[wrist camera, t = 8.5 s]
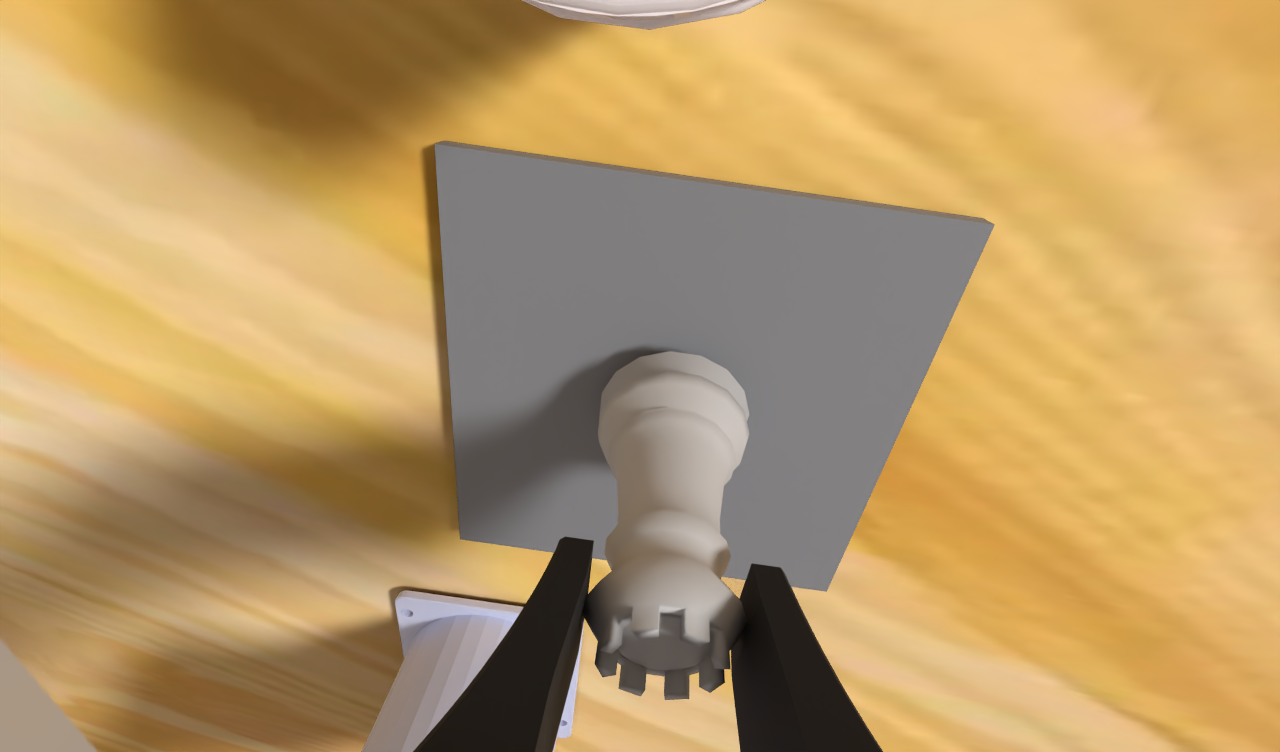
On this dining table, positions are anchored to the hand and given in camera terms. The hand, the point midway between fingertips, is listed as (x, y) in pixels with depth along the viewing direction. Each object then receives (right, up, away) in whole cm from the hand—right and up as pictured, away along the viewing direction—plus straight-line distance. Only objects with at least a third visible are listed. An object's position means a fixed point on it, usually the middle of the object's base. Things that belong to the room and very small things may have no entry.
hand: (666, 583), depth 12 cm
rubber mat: (0, +3, +6) cm, 7 cm away
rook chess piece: (0, +4, +5) cm, 6 cm away
